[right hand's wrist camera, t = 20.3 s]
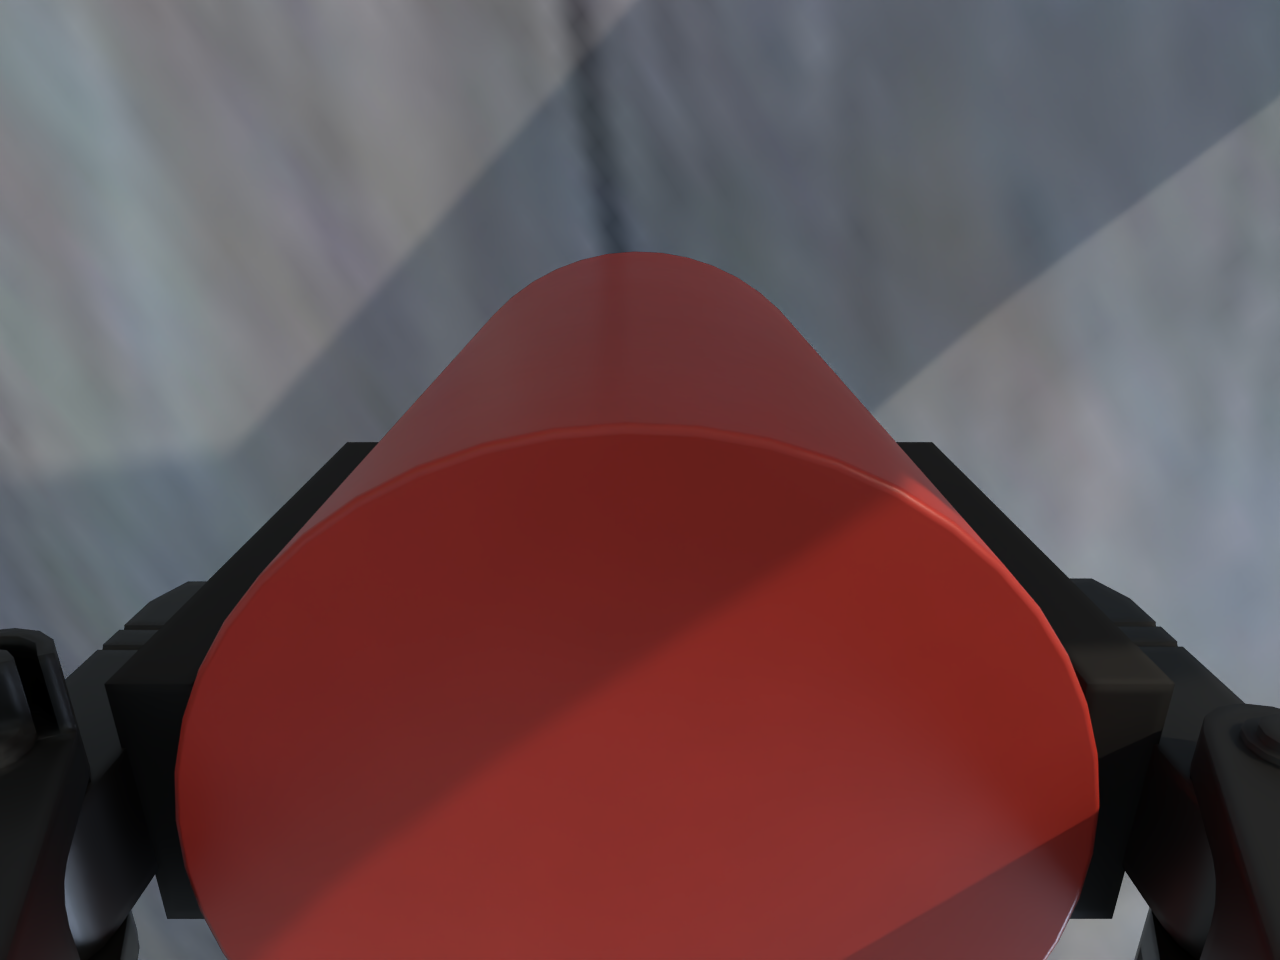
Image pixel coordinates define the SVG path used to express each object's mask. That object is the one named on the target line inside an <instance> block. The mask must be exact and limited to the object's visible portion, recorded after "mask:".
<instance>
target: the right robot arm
mask: <svg viewBox="0 0 1280 960" xmlns="http://www.w3.org/2000/svg"><path fill="white" fill-rule="evenodd" d="M378 443H379V442H347V443H346V444H345V445H344V446H343V447H342V448H341V449H340V450H339V451H338V452H337V453H336V454H335V455H334V456H333V457H332V458H331V459H330V460H329V461H328V462H327V463H326V464H325V465H324V466H323V467H322V468H321V469H320V470H319V471H318V472H317V473H316V474H315V475H314V476H313V477H312V478H311V479H310V480H309V481H308V482H307V483H306V484H305V485H304V486H303V487H302V488H301V489H300V490H299V491H298V492H297V493H296V494H295V495H294V496H293V497H292V498H291V499H290V500H289V501H288V502H287V503H286V504H285V505H284V506H283V507H282V508H281V509H280V510H279V511H278V512H277V513H276V514H275V515H274V516H273V517H272V518H271V519H270V520H269V521H268V522H267V523H266V524H265V525H264V526H263V527H262V528H261V529H260V530H259V531H258V532H257V533H256V534H255V535H254V536H253V537H252V538H251V539H250V540H249V541H247V542H246V543H245V544H244V545H243V546H242V547H241V548H240V549H239V550H238V551H237V552H236V553H235V554H234V555H233V556H232V557H231V558H230V559H229V560H228V561H227V562H226V563H225V564H224V565H223V566H222V567H221V568H220V569H219V570H218V571H217V572H216V573H215V574H214V575H213V576H212V577H211V578H210V579H209V580H208V581H207V582H186V583H184V584H183V585H181V586H179V587H177V588H175V589H173V590H171V591H169V592H167V593H165V594H164V595H162V596H160V597H158V598H156V599H154V600H152V601H150V602H149V603H148V604H147V605H146V606H145V607H144V608H143V609H142V610H140V611H139V612H138V613H137V614H136V615H135V616H134V617H133V618H132V619H131V620H130V621H128V622H127V623H126V624H125V625H124V626H125V628H124V630H119V631H118V632H116V633H115V634H114V635H113V636H112V637H111V638H110V639H109V640H108V641H107V642H106V643H105V644H103V650H97V651H96V652H95V653H94V654H93V655H91V656H90V657H89V658H88V659H87V660H86V661H85V662H84V663H83V664H82V665H81V666H79V667H78V668H77V669H76V670H75V671H74V672H73V673H72V674H71V675H70V676H69V677H68V678H66V679H64V675H63V672H62V668H61V665H60V661H59V658H58V654H57V651H56V647H55V644H54V640H53V639H52V638H50V637H48V636H47V635H45V634H44V633H42V632H40V631H35V630H26V629H18V628H12V629H2V630H0V960H138V954H139V941H138V934H137V928H136V925H135V921H134V918H133V914H132V911H131V909H132V908H133V906H134V905H135V903H136V902H137V900H138V899H139V897H140V896H141V894H142V893H143V891H144V890H145V888H146V887H147V886H148V884H149V883H150V881H151V880H152V878H153V877H154V875H156V879H157V882H158V886H159V890H160V893H161V897H162V901H163V905H164V908H165V912H166V916H167V919H204V917H203V915H202V913H201V911H200V908H199V906H198V903H197V900H196V897H195V895H194V892H193V889H192V886H191V884H190V881H189V878H188V875H187V873H186V870H185V867H184V861H183V856H182V851H181V846H180V841H179V835H178V830H177V825H176V811H175V765H176V759H177V752H178V745H179V738H180V732H181V725H182V718H183V715H184V712H185V709H186V706H187V703H188V700H189V697H190V694H191V691H192V688H193V685H194V682H195V679H196V676H197V673H198V670H199V668H200V666H201V664H202V662H203V660H204V658H205V656H206V655H207V653H208V651H209V649H210V647H211V645H212V643H213V641H214V639H215V638H216V636H217V634H218V632H219V630H220V628H221V626H222V624H223V622H224V621H225V619H226V618H227V617H228V615H229V614H230V613H231V612H232V610H233V609H234V608H235V606H236V605H237V604H238V602H239V601H240V600H241V598H242V597H243V596H244V595H245V593H246V592H247V591H248V589H249V588H250V587H251V585H252V584H253V583H254V581H255V580H256V579H257V577H258V576H259V575H260V574H261V573H262V572H263V570H264V569H265V568H266V567H267V566H268V565H269V564H270V563H271V562H272V561H273V559H274V558H275V557H276V556H277V555H278V554H279V553H280V552H281V551H282V549H283V548H284V547H285V546H286V545H287V544H288V543H289V542H290V541H291V539H292V538H293V537H294V536H295V535H296V534H297V533H298V532H299V531H300V529H301V528H302V527H303V526H304V525H305V524H306V523H307V522H308V521H309V519H310V518H311V517H312V516H313V515H314V514H315V513H316V512H317V511H318V509H319V508H320V507H321V506H322V505H323V504H324V503H325V502H326V501H327V499H328V498H329V497H330V496H331V495H332V494H333V493H334V492H335V491H336V489H337V488H338V487H339V486H340V485H341V484H342V483H343V482H344V481H345V479H346V478H347V477H348V476H349V475H350V474H351V473H352V472H353V471H354V469H355V468H356V467H357V466H358V465H359V464H360V463H361V462H362V461H363V459H364V458H365V457H366V456H367V455H368V454H369V453H370V452H371V451H372V449H373V448H374V447H375V446H376V445H377V444H378ZM896 443H897V444H898V445H899V446H900V447H901V449H902V450H903V451H904V452H905V453H906V454H907V455H908V457H909V458H910V459H911V460H912V461H913V462H914V463H915V464H916V466H917V467H918V468H919V469H920V470H921V471H922V472H923V474H924V475H925V476H926V477H927V478H928V479H929V480H930V481H931V483H932V484H933V485H934V486H935V487H936V488H937V489H938V491H939V492H940V493H941V494H942V495H943V496H944V497H945V498H946V500H947V501H948V502H949V503H950V504H951V505H952V506H953V508H954V509H955V510H956V511H957V512H958V513H959V514H960V515H961V517H962V518H963V519H964V520H965V521H966V522H967V523H968V525H969V526H970V527H971V528H972V529H973V530H974V531H975V532H976V534H977V535H978V536H979V537H980V538H981V539H982V540H983V542H984V543H985V544H986V545H987V546H988V547H989V548H990V549H991V551H992V552H993V553H994V554H995V555H996V556H997V557H998V559H999V560H1000V561H1001V562H1002V563H1003V564H1004V565H1005V567H1006V568H1007V569H1008V570H1009V571H1010V573H1011V574H1012V575H1013V576H1014V577H1015V578H1016V580H1017V581H1018V582H1019V583H1020V584H1021V586H1022V587H1023V588H1024V589H1025V590H1026V592H1027V593H1028V594H1029V595H1030V596H1031V597H1032V599H1033V600H1034V601H1035V602H1036V603H1037V605H1038V606H1039V607H1040V609H1041V610H1042V612H1043V614H1044V615H1045V617H1046V619H1047V620H1048V622H1049V624H1050V625H1051V627H1052V629H1053V630H1054V632H1055V634H1056V635H1057V637H1058V639H1059V640H1060V642H1061V644H1062V645H1063V647H1064V649H1065V650H1066V652H1067V654H1068V656H1069V658H1070V661H1071V663H1072V666H1073V668H1074V671H1075V673H1076V676H1077V679H1078V681H1079V684H1080V686H1081V689H1082V691H1083V694H1084V696H1085V699H1086V701H1087V705H1088V709H1089V714H1090V719H1091V724H1092V729H1093V734H1094V739H1095V744H1096V748H1097V754H1098V776H1099V814H1098V821H1097V828H1096V835H1095V842H1094V850H1093V855H1092V858H1091V862H1090V865H1089V868H1088V871H1087V875H1086V878H1085V881H1084V884H1083V888H1082V891H1081V894H1080V897H1079V900H1078V902H1077V904H1076V906H1075V908H1074V910H1073V912H1072V915H1071V917H1070V919H1112V917H1113V913H1114V910H1115V906H1116V902H1117V898H1118V895H1119V891H1120V887H1121V884H1122V880H1123V876H1124V872H1125V871H1126V873H1127V874H1128V876H1129V877H1130V879H1131V880H1132V882H1133V883H1134V885H1135V886H1136V888H1137V889H1138V891H1139V892H1140V894H1141V895H1142V897H1143V898H1144V900H1145V901H1146V902H1147V904H1148V905H1149V911H1148V914H1147V918H1146V921H1145V925H1144V928H1143V932H1142V935H1141V939H1140V942H1139V946H1138V949H1137V953H1136V956H1135V959H1134V960H1280V709H1279V708H1275V707H1270V706H1261V705H1252V704H1245V703H1244V702H1243V701H1242V700H1241V699H1240V698H1238V697H1237V696H1236V695H1235V694H1234V693H1233V692H1232V691H1231V690H1230V689H1229V688H1228V687H1226V686H1225V685H1224V684H1223V683H1222V682H1221V681H1220V680H1219V679H1218V678H1217V677H1215V676H1214V675H1213V674H1212V673H1211V672H1210V671H1209V670H1208V669H1207V668H1206V667H1204V666H1203V665H1202V664H1201V663H1200V662H1199V661H1198V660H1197V659H1196V658H1195V657H1194V656H1192V655H1191V654H1190V653H1189V652H1188V651H1187V650H1186V649H1185V648H1184V647H1178V646H1177V641H1176V640H1175V639H1174V638H1173V637H1172V636H1170V635H1169V634H1168V633H1167V632H1166V631H1165V630H1164V629H1163V628H1162V627H1156V622H1155V621H1154V620H1153V619H1152V618H1151V617H1150V616H1149V615H1147V614H1146V613H1145V612H1144V611H1143V610H1142V609H1141V608H1140V607H1139V606H1138V605H1136V604H1135V603H1134V602H1133V601H1132V600H1131V599H1130V598H1128V597H1126V596H1124V595H1122V594H1120V593H1118V592H1116V591H1115V590H1113V589H1111V588H1109V587H1107V586H1105V585H1103V584H1101V583H1099V582H1097V581H1095V580H1094V579H1069V578H1068V577H1067V576H1066V575H1065V574H1064V573H1063V572H1062V571H1061V570H1060V569H1059V568H1058V567H1057V566H1056V565H1055V564H1054V563H1053V562H1052V561H1051V560H1050V559H1049V558H1048V557H1047V556H1046V555H1045V554H1044V553H1043V552H1042V551H1041V550H1040V549H1039V548H1038V547H1037V546H1036V545H1035V544H1034V543H1033V542H1032V541H1031V540H1030V539H1029V538H1028V537H1027V536H1026V535H1025V534H1024V533H1023V532H1022V531H1021V530H1020V529H1019V528H1018V527H1017V526H1016V525H1015V524H1014V523H1013V522H1012V521H1011V520H1010V519H1009V518H1008V517H1007V516H1006V515H1005V514H1004V513H1003V512H1002V511H1001V510H1000V509H999V508H998V507H997V506H996V505H995V504H994V503H993V502H992V501H991V500H990V499H989V498H988V497H987V496H986V495H985V494H984V493H983V492H982V491H981V490H980V489H979V488H978V487H977V486H976V485H975V484H974V483H973V482H972V481H971V480H970V479H969V478H968V477H967V476H966V475H965V474H964V473H963V472H962V471H961V470H960V469H958V468H957V467H956V466H955V465H954V464H953V463H952V462H951V461H950V460H949V459H948V458H947V457H946V456H945V455H944V454H943V453H942V452H941V451H940V450H939V449H938V448H937V447H936V446H935V445H934V444H933V443H932V442H896Z"/></svg>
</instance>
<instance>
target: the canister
mask: <svg viewBox="0 0 1280 960" xmlns="http://www.w3.org/2000/svg"><path fill="white" fill-rule="evenodd" d="M175 811H176V825H177V830H178V835H179V841H180V846H181V851H182V856H183V861H184V867H185V870H186V873H187V875H188V878H189V881H190V884H191V886H192V889H193V892H194V895H195V897H196V900H197V903H198V906H199V908H200V911H201V913H202V915H203V917H204V919H205V921H206V922H207V924H208V926H209V928H210V930H211V932H212V933H213V935H214V937H215V939H216V941H217V943H218V945H219V946H220V948H221V950H222V952H223V954H224V955H225V956H226V958H227V959H228V960H1046V959H1047V958H1048V956H1049V955H1050V953H1051V952H1052V950H1053V949H1054V947H1055V946H1056V944H1057V943H1058V941H1059V939H1060V937H1061V935H1062V933H1063V931H1064V929H1065V927H1066V925H1067V923H1068V921H1069V919H1070V917H1071V915H1072V912H1073V910H1074V908H1075V906H1076V904H1077V902H1078V900H1079V897H1080V894H1081V891H1082V888H1083V884H1084V881H1085V878H1086V875H1087V871H1088V868H1089V865H1090V862H1091V858H1092V855H1093V850H1094V842H1095V835H1096V828H1097V821H1098V814H1099V776H1098V754H1097V748H1096V744H1095V739H1094V734H1093V729H1092V724H1091V719H1090V714H1089V709H1088V705H1087V701H1086V699H1085V696H1084V694H1083V691H1082V689H1081V686H1080V684H1079V681H1078V679H1077V676H1076V673H1075V671H1074V668H1073V666H1072V663H1071V661H1070V658H1069V656H1068V654H1067V652H1066V650H1065V649H1064V647H1063V645H1062V644H1061V642H1060V640H1059V639H1058V637H1057V635H1056V634H1055V632H1054V630H1053V629H1052V627H1051V625H1050V624H1049V622H1048V620H1047V619H1046V617H1045V615H1044V614H1043V612H1042V610H1041V609H1040V607H1039V606H1038V605H1037V603H1036V602H1035V601H1034V600H1033V599H1032V597H1031V596H1030V595H1029V594H1028V593H1027V592H1026V590H1025V589H1024V588H1023V587H1022V586H1021V584H1020V583H1019V582H1018V581H1017V580H1016V578H1015V577H1014V576H1013V575H1012V574H1011V573H1010V571H1009V570H1008V569H1007V568H1006V567H1005V565H1004V564H1003V563H1002V562H1001V561H1000V560H999V559H998V557H997V556H996V555H995V554H994V553H993V552H992V551H991V549H990V548H989V547H988V546H987V545H986V544H985V543H984V542H983V540H982V539H981V538H980V537H979V536H978V535H977V534H976V532H975V531H974V530H973V529H972V528H971V527H970V526H969V525H968V523H967V522H966V521H965V520H964V519H963V518H962V517H961V515H960V514H959V513H958V512H957V511H956V510H955V509H954V508H953V506H952V505H951V504H950V503H949V502H948V501H947V500H946V498H945V497H944V496H943V495H942V494H941V493H940V492H939V491H938V489H937V488H936V487H935V486H934V485H933V484H932V483H931V481H930V480H929V479H928V478H927V477H926V476H925V475H924V474H923V472H922V471H921V470H920V469H919V468H918V467H917V466H916V464H915V463H914V462H913V461H912V460H911V459H910V458H909V457H908V455H907V454H906V453H905V452H904V451H903V450H902V449H901V447H900V446H899V445H898V444H897V443H896V442H895V441H894V440H893V438H892V437H891V436H890V435H889V434H888V433H887V432H886V430H885V429H884V428H883V427H882V426H881V425H880V424H879V422H878V421H877V420H876V419H875V418H874V417H873V416H872V415H871V413H870V412H869V411H868V410H867V409H866V408H865V407H864V405H863V404H862V403H861V402H860V401H859V400H858V399H857V398H856V396H855V395H854V394H853V393H852V392H851V391H850V390H849V388H848V387H847V386H846V385H845V384H844V383H843V382H842V381H841V379H840V378H839V377H838V376H837V375H836V374H835V373H834V371H833V370H832V369H831V368H830V367H829V366H828V365H827V364H826V362H825V361H824V360H823V359H822V358H821V357H820V356H819V354H818V353H817V352H816V351H815V350H814V349H813V348H812V347H811V345H810V344H809V343H808V342H807V341H806V340H805V339H804V337H803V336H802V335H801V334H800V333H799V332H798V331H797V330H796V328H795V327H794V326H793V325H792V324H791V323H790V322H789V320H788V319H787V318H786V317H785V316H784V315H783V314H782V313H781V311H780V310H779V309H778V308H777V307H775V306H774V305H773V304H772V303H771V302H770V301H769V300H768V299H766V298H765V297H764V296H763V295H762V294H761V293H760V292H758V291H757V290H755V289H754V288H752V287H751V286H749V285H748V284H746V283H745V282H743V281H742V280H740V279H739V278H737V277H735V276H733V275H731V274H729V273H727V272H725V271H723V270H721V269H719V268H717V267H714V266H712V265H709V264H706V263H703V262H700V261H696V260H693V259H690V258H687V257H681V256H676V255H670V254H665V253H652V252H625V253H614V254H606V255H601V256H597V257H592V258H588V259H584V260H580V261H577V262H575V263H572V264H569V265H567V266H564V267H561V268H559V269H556V270H554V271H552V272H550V273H549V274H547V275H545V276H543V277H541V278H539V279H537V280H536V281H534V282H532V283H531V284H529V285H528V286H527V287H525V288H524V289H523V290H521V291H520V292H518V293H517V294H516V295H514V296H513V297H512V298H511V299H510V300H509V301H508V302H506V303H505V304H504V305H503V306H502V307H501V308H500V309H499V310H498V311H497V312H496V313H495V314H494V315H493V316H492V317H491V318H490V319H489V321H488V322H487V323H486V324H485V325H484V326H483V327H482V328H481V329H480V331H479V332H478V333H477V334H476V335H475V336H474V337H473V338H472V339H471V341H470V342H469V343H468V344H467V345H466V346H465V347H464V348H463V349H462V351H461V352H460V353H459V354H458V355H457V356H456V357H455V358H454V359H453V361H452V362H451V363H450V364H449V365H448V366H447V367H446V368H445V369H444V371H443V372H442V373H441V374H440V375H439V376H438V377H437V378H436V379H435V381H434V382H433V383H432V384H431V385H430V386H429V387H428V388H427V389H426V391H425V392H424V393H423V394H422V395H421V396H420V397H419V398H418V399H417V401H416V402H415V403H414V404H413V405H412V406H411V407H410V408H409V409H408V411H407V412H406V413H405V414H404V415H403V416H402V417H401V418H400V419H399V421H398V422H397V423H396V424H395V425H394V426H393V427H392V428H391V429H390V431H389V432H388V433H387V434H386V435H385V436H384V437H383V438H382V439H381V441H380V442H379V443H378V444H377V445H376V446H375V447H374V448H373V449H372V451H371V452H370V453H369V454H368V455H367V456H366V457H365V458H364V459H363V461H362V462H361V463H360V464H359V465H358V466H357V467H356V468H355V469H354V471H353V472H352V473H351V474H350V475H349V476H348V477H347V478H346V479H345V481H344V482H343V483H342V484H341V485H340V486H339V487H338V488H337V489H336V491H335V492H334V493H333V494H332V495H331V496H330V497H329V498H328V499H327V501H326V502H325V503H324V504H323V505H322V506H321V507H320V508H319V509H318V511H317V512H316V513H315V514H314V515H313V516H312V517H311V518H310V519H309V521H308V522H307V523H306V524H305V525H304V526H303V527H302V528H301V529H300V531H299V532H298V533H297V534H296V535H295V536H294V537H293V538H292V539H291V541H290V542H289V543H288V544H287V545H286V546H285V547H284V548H283V549H282V551H281V552H280V553H279V554H278V555H277V556H276V557H275V558H274V559H273V561H272V562H271V563H270V564H269V565H268V566H267V567H266V568H265V569H264V570H263V572H262V573H261V574H260V575H259V576H258V577H257V579H256V580H255V581H254V583H253V584H252V585H251V587H250V588H249V589H248V591H247V592H246V593H245V595H244V596H243V597H242V598H241V600H240V601H239V602H238V604H237V605H236V606H235V608H234V609H233V610H232V612H231V613H230V614H229V615H228V617H227V618H226V619H225V621H224V622H223V624H222V626H221V628H220V630H219V632H218V634H217V636H216V638H215V639H214V641H213V643H212V645H211V647H210V649H209V651H208V653H207V655H206V656H205V658H204V660H203V662H202V664H201V666H200V668H199V670H198V673H197V676H196V679H195V682H194V685H193V688H192V691H191V694H190V697H189V700H188V703H187V706H186V709H185V712H184V715H183V718H182V725H181V732H180V738H179V745H178V752H177V759H176V765H175Z"/></svg>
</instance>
